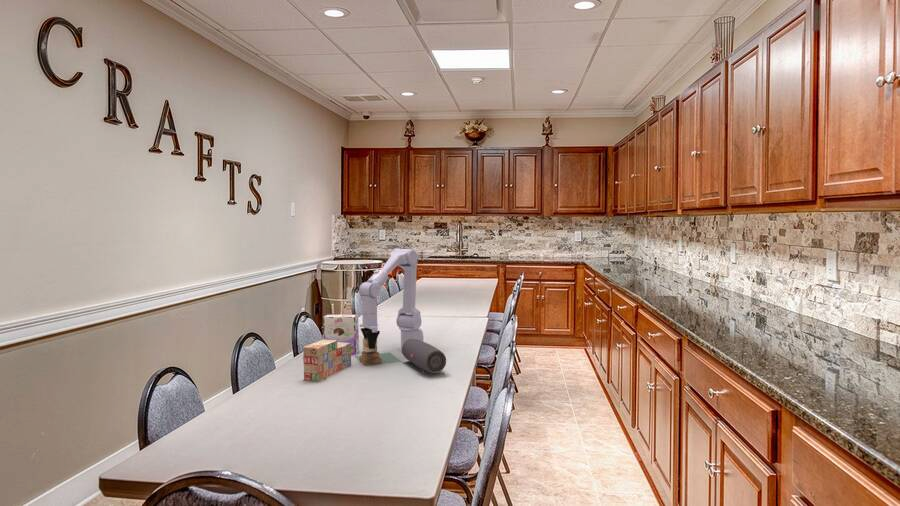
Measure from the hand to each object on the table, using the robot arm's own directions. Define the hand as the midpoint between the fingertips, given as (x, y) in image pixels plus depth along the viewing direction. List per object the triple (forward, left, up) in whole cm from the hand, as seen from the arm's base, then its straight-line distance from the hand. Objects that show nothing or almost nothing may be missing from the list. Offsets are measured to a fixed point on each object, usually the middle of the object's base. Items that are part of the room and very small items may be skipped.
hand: (370, 347), depth 215 cm
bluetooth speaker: (-16, +16, -7) cm, 24 cm away
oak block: (0, 0, -1) cm, 1 cm away
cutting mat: (-4, -4, -6) cm, 9 cm away
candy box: (+7, -20, -7) cm, 22 cm away
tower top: (0, 0, -4) cm, 4 cm away
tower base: (0, 0, -6) cm, 6 cm away
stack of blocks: (+18, +6, -7) cm, 20 cm away
